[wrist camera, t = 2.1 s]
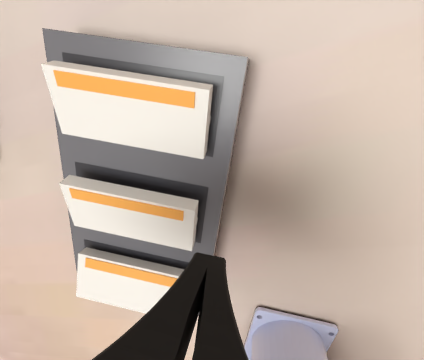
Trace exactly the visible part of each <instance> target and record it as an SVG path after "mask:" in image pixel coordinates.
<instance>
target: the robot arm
mask: <svg viewBox="0 0 424 360" xmlns="http://www.w3.org/2000/svg"><path fill="white" fill-rule="evenodd" d="M198 314H199V318H198V326H197V333H196V341H195V348H194V354H193V358H192V360H328V358H327V354H326V353H327V351H328V349H329V347H330V345H331V344H332V342H333V340H334V338H335V336H336V335H337V333H338V327H337V326H336V325H335V324H331V323H327V322H323V321H318V320H314V319H310V318H305V317H301V316H297V315H292V314H288V313H284V312H280V311H275V310H271V309H267V308H262V307H258V308H256V309H255V313H254V316H253V319H252V322H251V326H250V329H249V332H248V335H247V339H246V342H245V345H244V346H243V343H242V340H241V337H240V334H239V330H238V327H237V324H236V320H235V316H234V313H233V309H232V304H231V300H230V295H229V290H228V284H227V277H226V260H225V259H224V258H221V257H217V256H212V255H208V254H203V253H199V252H196V253H195V254H194V255H193V257H192V259H191V261H190V262H189V264H188V265H187V267H186V268H185V269H184V271H183V272H182V274H181V275H180V276H179V277H178V279H177V280H176V281H175V283H174V284H173V285H172V286H171V287H170V289H169V290H168V291H167V292H166V293H165V294H164V295H163V297H162V298H161V299H160V300H159V301H158V302H157V303H156V304H155V305H154V306H153V307H152V308H151V309H150V310H149V311H148V312H147V313H146V314H145V315H144V316H143V317H142V318H141V319H140V320H139V321H138V322H137V323H136V324H135V325H134V326H132V327H131V328H130V329H129V330H128V331H127V332H126V333H125V334H123V335H122V336H121V337H120V338H119V339H118V340H116V341H115V342H114V343H113V344H111V345H110V346H109V347H108V348H106V349H105V350H104V351H102V352H101V353H100V354H99V355H97V356H96V357H95V358H93V359H92V360H184V358H185V355H186V352H187V349H188V345H189V342H190V339H191V336H192V333H193V330H194V327H195V323H196V320H197V317H198Z"/></svg>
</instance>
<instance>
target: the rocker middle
mask: <svg viewBox="0 0 424 360" xmlns="http://www.w3.org/2000/svg"><path fill="white" fill-rule="evenodd" d="M59 185H60V187H61V190H62V193H63V196H64V198H65V201H66V204H67V207H68V209H69V212H70V215H71V218H72V220H73V223H74V226H78V227H83V228H87V229H92V230H96V231H101V232H106V233H110V234H115V235H119V236H124V237H129V238H133V239H138V240H142V241H147V242H152V243H156V244H161V245H165V246H170V247H175V248H179V249H184V250H188V251H192V249H193V246H194V243H195V237H196V226H197V221H198V217H197V214H198V202H199V200H194V199H189V198H184V197H179V196H174V195H169V194H164V193H159V192H154V191H149V190H144V189H139V188H134V187H129V186H124V185H119V184H114V183H109V182H103V181H98V180H93V179H88V178H83V177H78V176H73V175H68V176H67V177H66V178H65V179H64V180H63V181H61V182H60V183H59Z"/></svg>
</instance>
